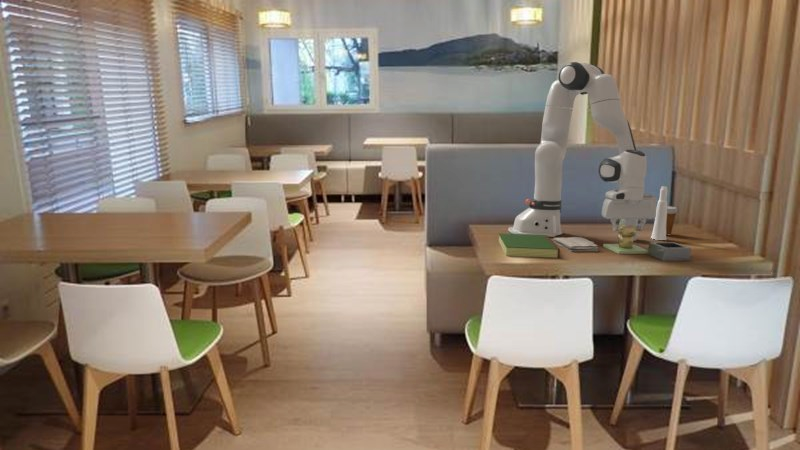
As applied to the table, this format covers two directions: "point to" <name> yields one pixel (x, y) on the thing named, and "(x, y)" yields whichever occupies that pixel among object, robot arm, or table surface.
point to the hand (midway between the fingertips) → (627, 230)
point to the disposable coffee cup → (670, 218)
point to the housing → (669, 251)
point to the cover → (626, 236)
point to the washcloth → (576, 244)
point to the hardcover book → (528, 245)
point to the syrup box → (629, 222)
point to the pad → (625, 251)
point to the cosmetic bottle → (661, 216)
